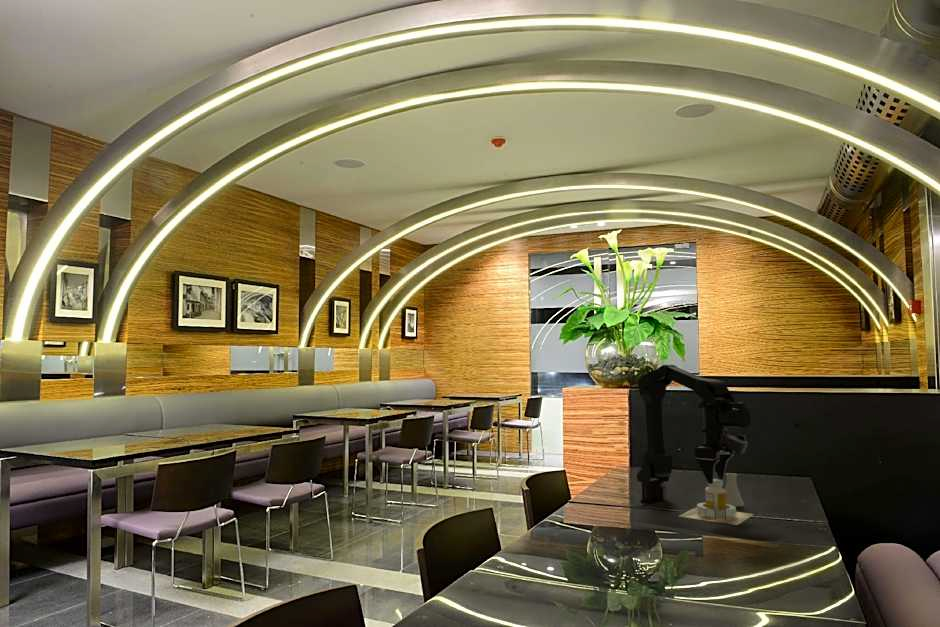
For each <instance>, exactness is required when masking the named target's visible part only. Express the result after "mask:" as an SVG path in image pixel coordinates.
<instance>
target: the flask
mask: <svg viewBox="0 0 940 627" xmlns="http://www.w3.org/2000/svg"><path fill="white" fill-rule="evenodd" d="M725 475H726V486H725V492H726V504H729V505H733V506H735V507H736V508H738V507H744V505H745V503H744V501H743V499H742V496H741V493H740V490H739V487H738V484H737V477H738V474H737V473H733V472H732V473H730V472H729V473H728V472H727V473H726V472H725Z"/></svg>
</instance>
